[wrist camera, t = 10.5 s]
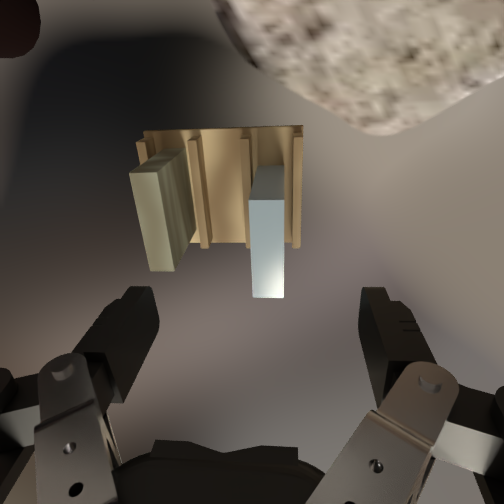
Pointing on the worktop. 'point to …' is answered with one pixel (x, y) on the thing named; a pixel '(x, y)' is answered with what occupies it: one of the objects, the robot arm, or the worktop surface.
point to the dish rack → (210, 186)
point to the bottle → (18, 27)
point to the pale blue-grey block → (267, 231)
